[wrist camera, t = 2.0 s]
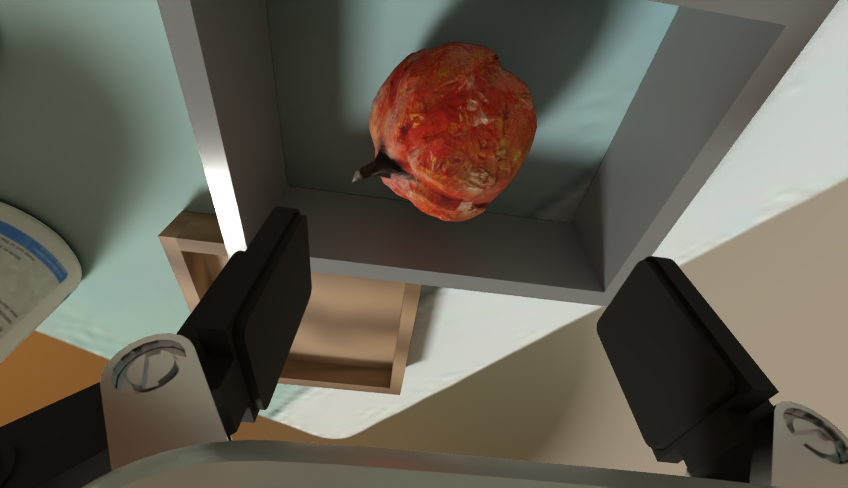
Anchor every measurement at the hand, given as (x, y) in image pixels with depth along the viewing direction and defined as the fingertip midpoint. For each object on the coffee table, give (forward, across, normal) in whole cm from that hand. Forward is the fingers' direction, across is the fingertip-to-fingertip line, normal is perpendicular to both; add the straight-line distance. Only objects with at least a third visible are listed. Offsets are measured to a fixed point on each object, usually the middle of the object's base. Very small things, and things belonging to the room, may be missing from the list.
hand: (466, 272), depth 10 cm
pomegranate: (+12, 0, -1) cm, 12 cm away
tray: (+12, +8, +16) cm, 22 cm away
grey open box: (+11, 0, -1) cm, 11 cm away
